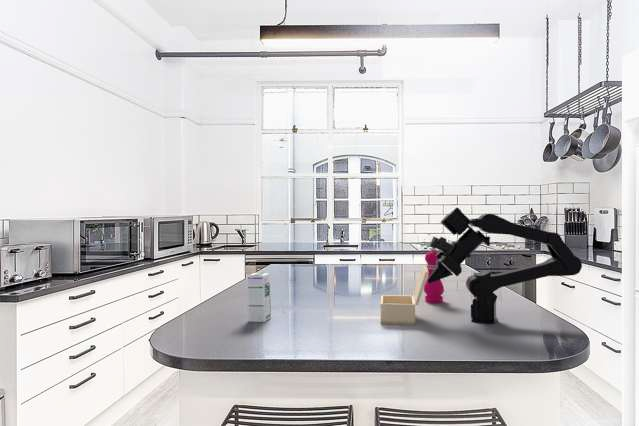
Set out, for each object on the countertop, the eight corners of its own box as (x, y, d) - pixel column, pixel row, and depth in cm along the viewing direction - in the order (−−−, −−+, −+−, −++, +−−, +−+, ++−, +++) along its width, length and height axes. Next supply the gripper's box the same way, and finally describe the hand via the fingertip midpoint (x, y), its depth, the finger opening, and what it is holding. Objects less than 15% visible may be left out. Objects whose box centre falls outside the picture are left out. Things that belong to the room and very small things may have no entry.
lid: (412, 295, 150) (415, 296, 150) (415, 304, 135) (418, 305, 135) (422, 265, 149) (425, 266, 149) (425, 271, 135) (428, 272, 135)
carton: (413, 314, 150) (412, 295, 149) (415, 324, 136) (414, 304, 136) (381, 313, 151) (381, 295, 151) (380, 324, 137) (380, 303, 137)
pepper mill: (442, 299, 173) (441, 246, 173) (445, 303, 166) (445, 247, 165) (422, 299, 173) (421, 246, 173) (425, 303, 166) (424, 247, 166)
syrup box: (265, 322, 142) (264, 275, 142) (247, 321, 143) (246, 274, 143) (271, 318, 147) (270, 272, 147) (253, 317, 148) (252, 272, 148)
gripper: (442, 226, 150) (408, 260, 152) (449, 228, 132) (410, 267, 133) (467, 250, 149) (433, 284, 151) (478, 256, 131) (438, 294, 132)
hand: (428, 282), depth 142 cm, fingers closed
